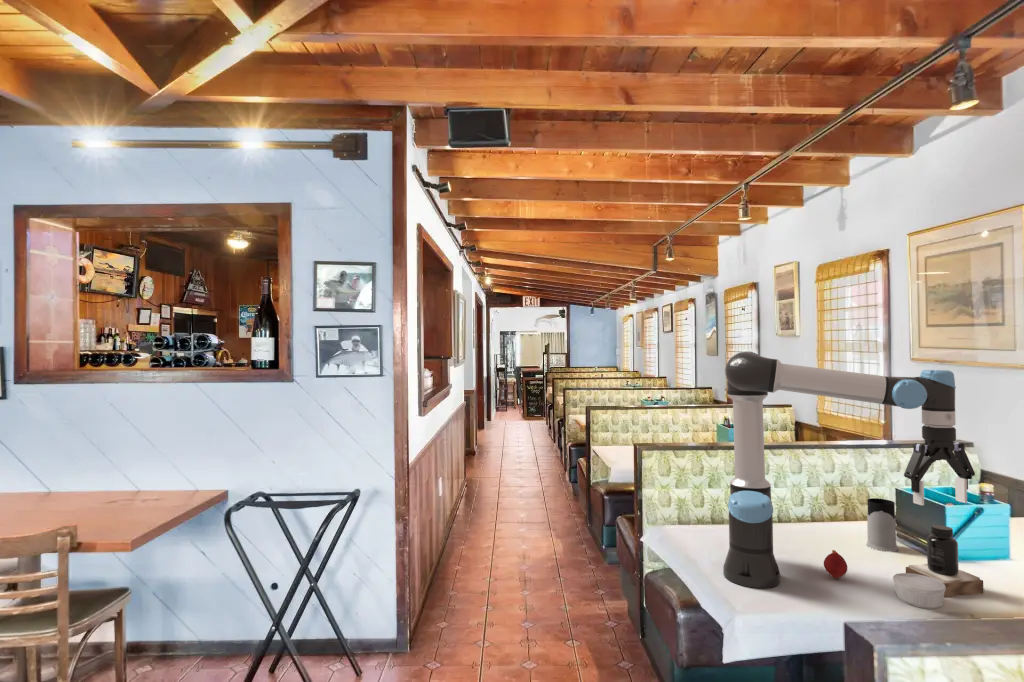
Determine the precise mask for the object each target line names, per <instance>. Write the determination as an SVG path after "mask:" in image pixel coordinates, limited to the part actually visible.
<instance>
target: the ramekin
mask: <svg viewBox="0 0 1024 682" xmlns="http://www.w3.org/2000/svg"><path fill="white" fill-rule="evenodd" d="M892 581H893V583H894V588H895V593H896V596H897V598H898V599H899V600H900V601H901V600H902V602H903V603H905V604H907V605H909V604H911V605H910V606H912V605H913V607H917V608H921V609H932V610H933V609H938V608H941V606H943V603H944V598H945V597H944V592H945V591H946V586H945V585H944V584H943V583H942V582H940V581H938V580H936V579H934V578H931V577H927V576H923V575H918V574H911V573H906V572H902V573H900V572H899V573H896V574H894V575H893V577H892Z"/></svg>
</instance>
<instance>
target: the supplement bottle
mask: <svg viewBox="0 0 1024 682" xmlns="http://www.w3.org/2000/svg"><path fill="white" fill-rule="evenodd" d="M930 533H931V534H930V535H928V536H927V537H926V549H927V550H926V552H927V553H926V555H927V558H926V561H927V564H928V569H929V570H931V571H932V572H935V573H938V574H942V575H957V574H958V572H959V570H960V569H959V545H958V544H959V542H958V541H957V540H956V539H955V538H954V537H953V536H954V529H953V527H949V526H946V525H941V524H938V525H937V524H932V525H931V527H930Z"/></svg>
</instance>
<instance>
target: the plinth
mask: <svg viewBox="0 0 1024 682" xmlns="http://www.w3.org/2000/svg"><path fill="white" fill-rule="evenodd" d="M905 573H911V574H918V575H923V576H927V577H931V578H934V579H936V580H938V581H940V582H942V583H943V584H944V585H945V586H946V591H945V592H944V598H949V597H960V596H969V595H970V596H972V595H982V594H984V580H982V579H981V577H979V576H976V575H973V574H971V573H970V572H966V571H964V570H961V569H959V572H958V574H957V575H942V574H938V573H935V572H932V571H931V570H929V569H928V563H922V564H921V563H919V564H910V565H908V566H906V567H905Z"/></svg>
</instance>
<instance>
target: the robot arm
mask: <svg viewBox="0 0 1024 682" xmlns="http://www.w3.org/2000/svg"><path fill="white" fill-rule="evenodd" d="M724 371H725V376H726V386H727V387H726V388H727V390H726V391H727V396H728V397H729V398H730V400H732V413H733V414H732V416H733V419H732V420H733V446H734V448H733V450H734V452H733V453H734V477H733V478H732V479H731V480H730V481H729V485H730V486H729V487H730V491H729V492H730V495H729V498H728V502H727V509H728V530H729V531H728V533H729V534H728V539H729V540H728V541H729V547H728V551H727V554H726V558H725V560H724V563H723V566H722V567H723V571H722V572H723V573H722V575H723V576H724V578H726V580H727V581H729V582H732V583H734V584H736V585H739V586H744V587H749V588H757V589H766V588H767V589H768V588H774V587H777V586H779V585H780V584H781V581H782V580H781V572H780V571H781V570H780V568H779V566H778V563H777V560H776V558H775V554H774V529H773V528H774V527H773V526H774V525H773V524H774V521H773V519H774V518H773V517H774V516H773V513H774V507H773V500H772V488H771V487H772V486H771V485H772V484H771V483H770V482H769V481H768V480H767V479H766V468H765V466H766V464H765V440H764V439H765V436H764V435H765V433H764V406H763V405H764V403H763V401H764V400H765V399H766V397H768V396H769V393H772V394H775V392H778V391H785V392H790V393H791V392H793V393H800V394H804V395H805V394H806V395H814V396H821V397H827V398H836V399H841V400H842V399H843V400H849V401H856V402H857V401H858V402H863V403H864V402H866V403H872V404H877V405H885V406H893V407H899V408H900V409H904V410H905V409H906V410H912V409H914V410H915V409H919V408H920V407H921V424H923V425H922V426H921V438H922V439H923V441H924V442H923V443H924V444H922V443H914V444H913V451H912V454H911V457H910V459H909V461H908V464H907V466H906V468H905V470H904V473H903V477H904V478H907V479H908V480H910V484H911V485H910V486H911V492H912V503H913V504H916V505H919V506H925V487H924V486H925V483H924V481H923V480H922V479H923V478H924V476H925V474H926V473H927V472H928V470H929V469H930V467H931V466H932V464H933V463H936V462H937V461H942V460H943V461H946V463H947V464H948V465H949V466H950V467H951V469H952V470H953V471H954V473H955V474H956V475H957V476H955V477H954V480H955V481H954V485H955V490H954V491H955V492H954V493H955V501H957V502H959V503H964V504H968V490H969V480H972V479H973V477H974V476H976V472H975V469H974V467H973V466H972V464H971V460H970V459H969V457H968V454H967V452H966V449H965V448H966V447H965V444H964V443H963V442H958V441H957V429H956V427H954V426H956V425H957V424H956V422H957V421H956V381H955V380H956V379H955V374H954V372H953V371H951V370H949V369H948V370H947V369H923V370H921V371H920V375H919V376H912V377H911V376H886V375H885V376H884V375H876V374H867V373H862V372H861V373H860V372H854V371H845V370H837V369H829V368H820V367H812V366H804V365H797V364H796V365H795V364H790V363H789V364H788V363H782V362H781V360H779V359H776V358H768V357H765V356H761V355H759V354H758V353H756V352H753V351H741V352H737V353H736V354H734V355H732V357H730V358H729V360H728V361H727V363H726V365H725V370H724Z"/></svg>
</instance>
